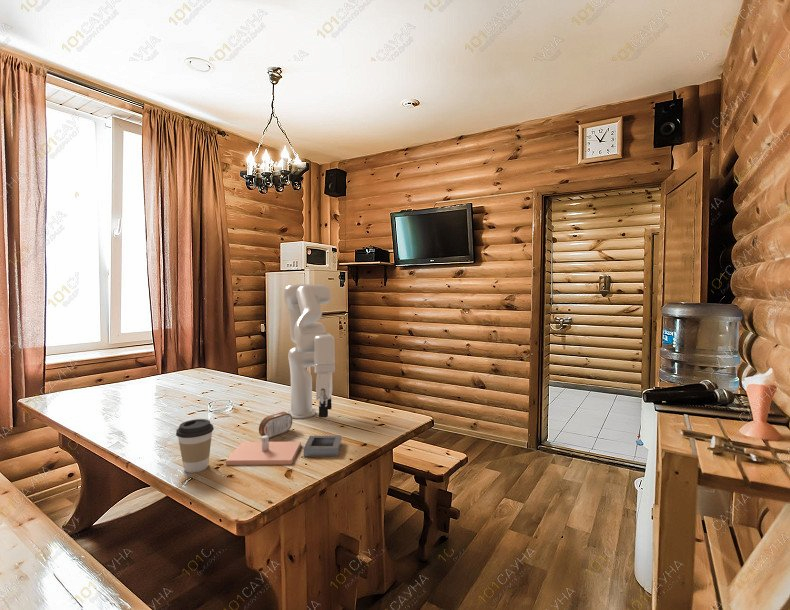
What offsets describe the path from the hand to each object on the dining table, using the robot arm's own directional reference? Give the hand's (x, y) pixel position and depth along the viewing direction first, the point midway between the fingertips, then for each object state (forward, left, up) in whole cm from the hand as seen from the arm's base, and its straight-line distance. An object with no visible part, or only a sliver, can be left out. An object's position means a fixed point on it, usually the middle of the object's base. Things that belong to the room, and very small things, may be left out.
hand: (325, 413), depth 157 cm
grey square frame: (+4, 0, -12) cm, 13 cm away
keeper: (+8, -20, -12) cm, 25 cm away
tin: (-11, -21, -13) cm, 27 cm away
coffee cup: (+18, -40, -13) cm, 46 cm away
